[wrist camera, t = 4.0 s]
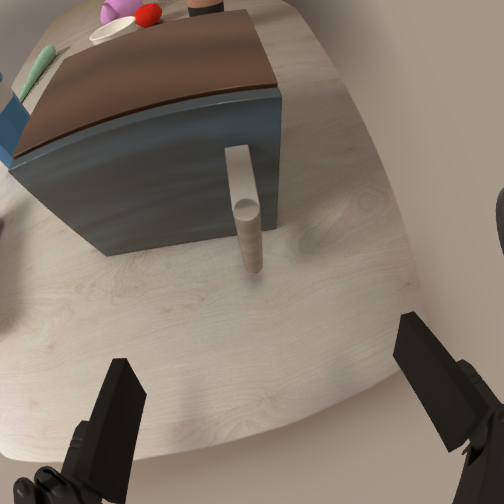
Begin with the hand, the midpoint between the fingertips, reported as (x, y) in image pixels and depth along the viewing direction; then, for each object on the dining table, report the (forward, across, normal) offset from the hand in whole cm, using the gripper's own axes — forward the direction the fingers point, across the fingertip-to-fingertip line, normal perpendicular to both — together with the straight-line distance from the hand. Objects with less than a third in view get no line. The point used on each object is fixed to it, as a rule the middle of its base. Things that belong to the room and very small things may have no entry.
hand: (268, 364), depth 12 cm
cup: (+52, -20, +30) cm, 63 cm away
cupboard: (+26, -7, +5) cm, 28 cm away
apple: (+69, -17, +47) cm, 85 cm away
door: (+18, -7, -2) cm, 20 cm away
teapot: (+78, -28, +56) cm, 100 cm away
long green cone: (+64, -54, +43) cm, 95 cm away
